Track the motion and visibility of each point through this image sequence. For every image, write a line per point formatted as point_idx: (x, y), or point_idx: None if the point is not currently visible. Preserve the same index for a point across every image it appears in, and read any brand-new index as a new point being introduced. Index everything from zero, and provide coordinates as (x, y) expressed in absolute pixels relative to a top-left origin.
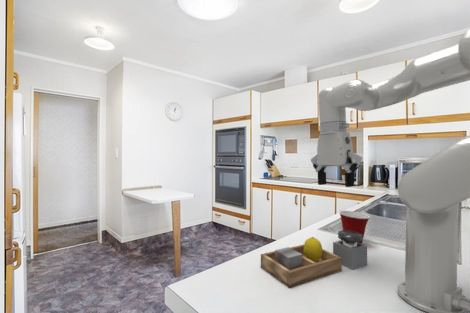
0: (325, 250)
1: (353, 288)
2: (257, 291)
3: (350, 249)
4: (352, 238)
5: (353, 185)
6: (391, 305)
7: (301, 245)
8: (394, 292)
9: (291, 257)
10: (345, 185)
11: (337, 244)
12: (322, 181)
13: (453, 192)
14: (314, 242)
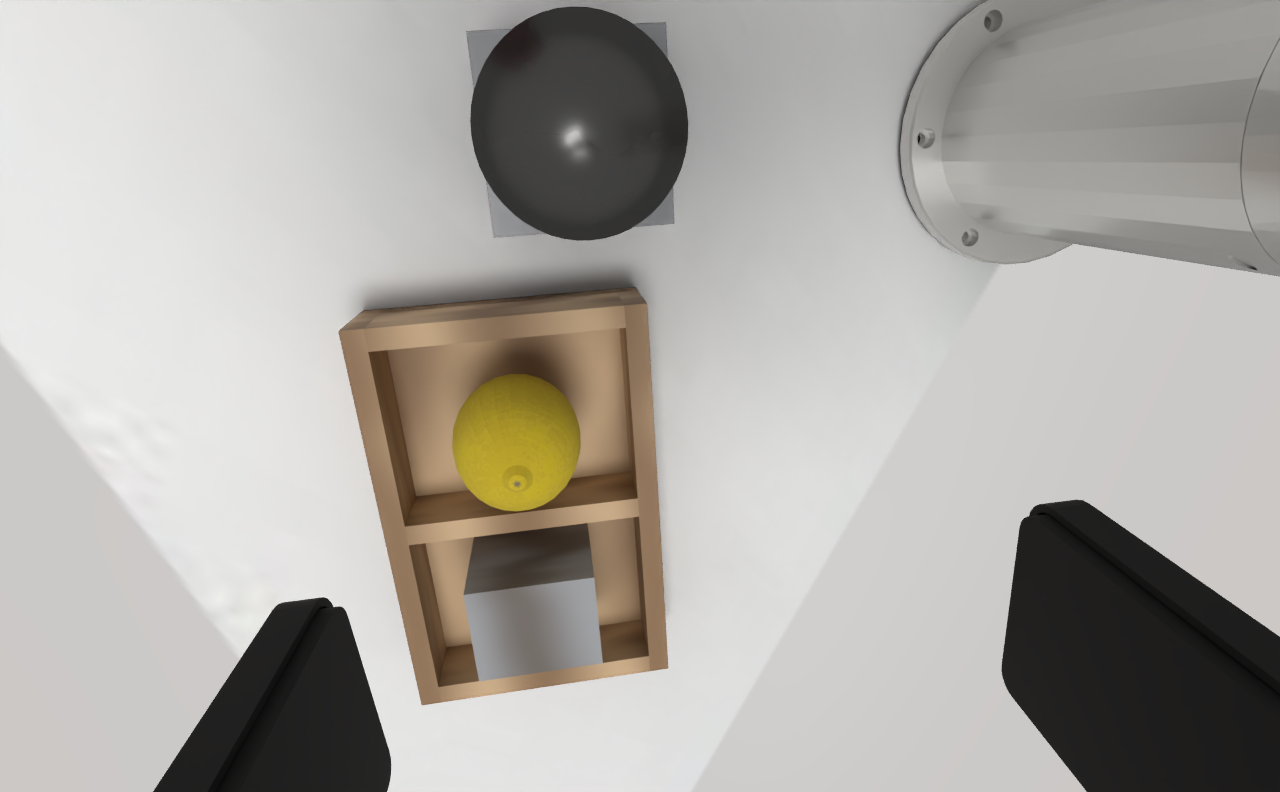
0: (509, 317)
1: (784, 373)
2: (621, 729)
3: (655, 224)
4: (662, 198)
5: (1076, 516)
6: (939, 333)
7: (366, 416)
8: (900, 220)
9: (600, 644)
10: (1018, 695)
11: (536, 232)
12: (352, 762)
13: None
14: (556, 485)
